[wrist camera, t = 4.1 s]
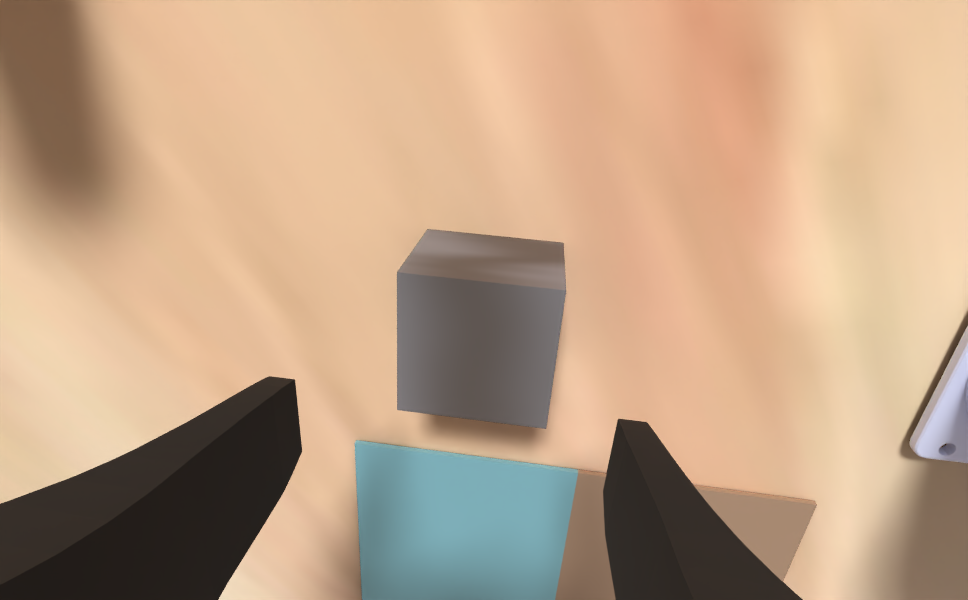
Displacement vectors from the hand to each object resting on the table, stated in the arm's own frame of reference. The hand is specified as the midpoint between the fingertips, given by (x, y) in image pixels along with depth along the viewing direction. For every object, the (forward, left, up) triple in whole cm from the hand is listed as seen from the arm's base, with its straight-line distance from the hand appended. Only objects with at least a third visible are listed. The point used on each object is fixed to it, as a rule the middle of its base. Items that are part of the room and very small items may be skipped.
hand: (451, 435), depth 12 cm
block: (0, 0, -8) cm, 8 cm away
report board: (-4, +13, -7) cm, 16 cm away
